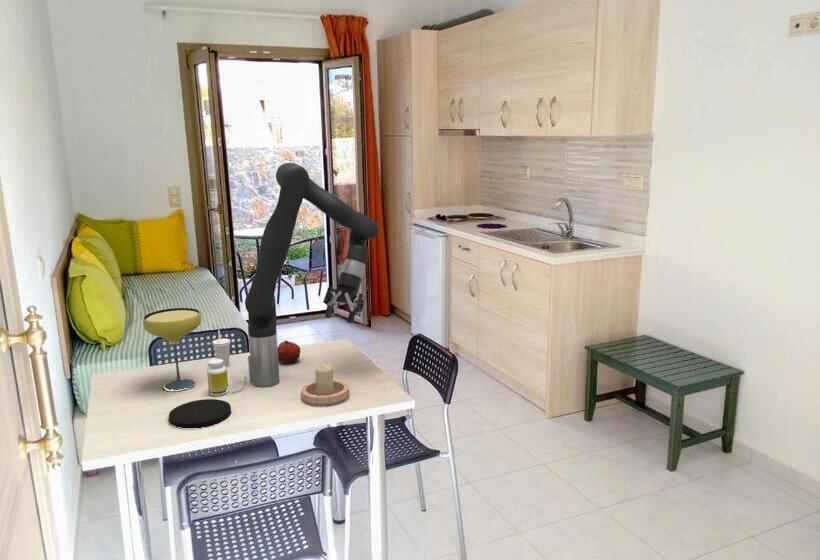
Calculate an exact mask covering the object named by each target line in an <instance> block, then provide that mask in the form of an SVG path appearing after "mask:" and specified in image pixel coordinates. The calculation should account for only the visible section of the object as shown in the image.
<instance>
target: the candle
mask: <svg viewBox="0 0 820 560" xmlns="http://www.w3.org/2000/svg"><path fill="white" fill-rule="evenodd" d="M314 371H315V381H316V390H317V395H318V396H324V395H332V394H334V382H333V379H334V368H333V366H332V365H330V364H329V363H328V362H321V363H319V364H318V365H317V366H316V368H315V370H314Z"/></svg>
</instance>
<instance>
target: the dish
mask: <svg viewBox="0 0 820 560" xmlns="http://www.w3.org/2000/svg"><path fill="white" fill-rule="evenodd" d="M333 382H334V394H332V395H324V396H318V395H317V390H316V380H315V381H310V382H308V383H307V384H305V385H303V386H302V387H301V389H300V397H301V401H302V403H304V404H306V405H309V406H312V407H319V406H320V408H321V407H322V406H324V407H330V406H331V405H332V406H335V405H336V404H337V405H339V403H340V404H342V403H344V402H346V401H347V400H348V399H349V398H348V397H350V385H349V383H347V382H345V381H344V380H339V379H334V378H333ZM347 398H348V399H347ZM346 399H347V400H346ZM345 400H346V401H345ZM341 402H342V403H341ZM337 405H336V406H337ZM332 406H331V407H332Z"/></svg>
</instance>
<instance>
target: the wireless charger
mask: <svg viewBox="0 0 820 560" xmlns="http://www.w3.org/2000/svg"><path fill="white" fill-rule="evenodd" d="M231 414H232V407H231V404H230V403H229V402H227V401H225V400H222V399H215V398H207V399H198V400H197V399H196V400H191V401H188V402H185V403H181V404H180V405H178V406H175V407H174V408H172V409H171V410H170V412H169V413H168V421H169V424H170V423H171V424H172V425H174V426H176V427H175V428H177V427H181V428H199V429H203V428H202V427H205V428H208V427H213V426H215V424H216V425H218V424H220V422H221V423H223V422H224V421H226V420H227V419H228V418H230V416H231ZM225 419H226V420H225ZM222 421H223V422H222ZM171 424H170V425H171ZM172 425H171V426H172ZM174 426H173V427H174ZM181 428H180V429H181Z"/></svg>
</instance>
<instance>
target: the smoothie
mask: <svg viewBox="0 0 820 560" xmlns="http://www.w3.org/2000/svg"><path fill="white" fill-rule="evenodd" d="M217 333H218V338H217V339H214V340H212V346H213V350H214V352H215V353H214V354H215V359H223V360H224V365H223V366H225V367H226V368H228V367H229V366H230V348H231V343H232V342H231V339H230V338H221V331H220V329H217Z"/></svg>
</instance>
